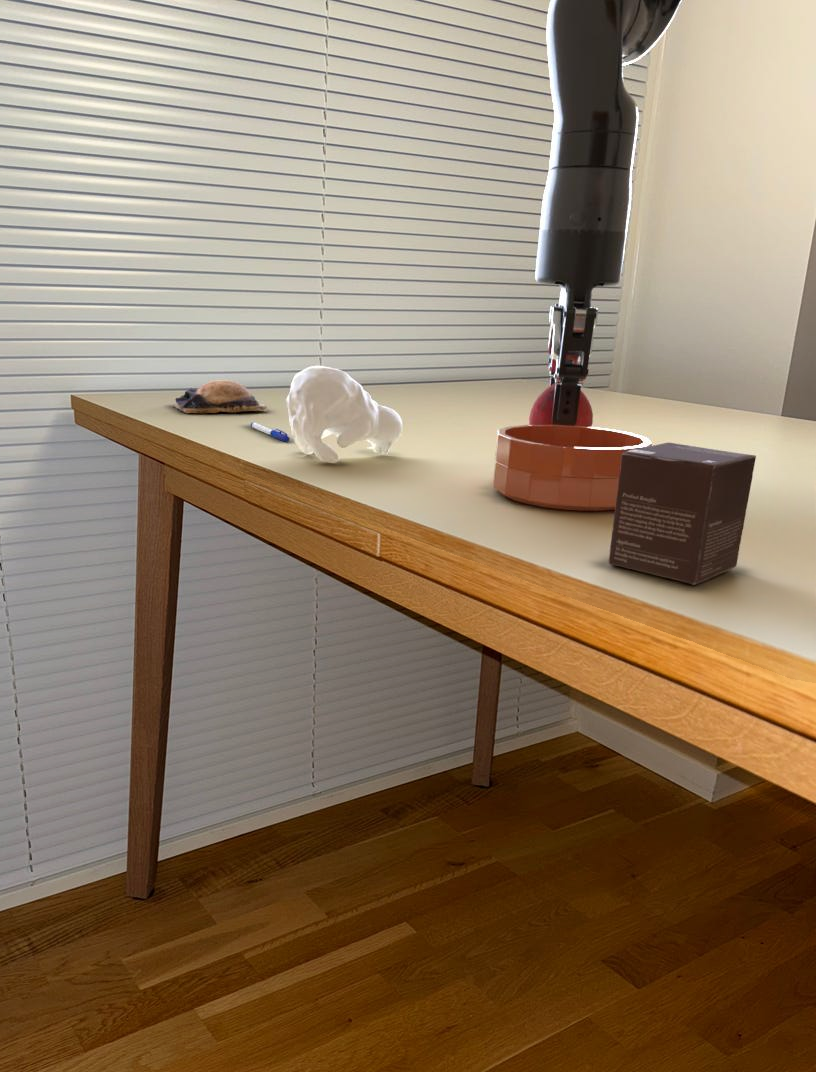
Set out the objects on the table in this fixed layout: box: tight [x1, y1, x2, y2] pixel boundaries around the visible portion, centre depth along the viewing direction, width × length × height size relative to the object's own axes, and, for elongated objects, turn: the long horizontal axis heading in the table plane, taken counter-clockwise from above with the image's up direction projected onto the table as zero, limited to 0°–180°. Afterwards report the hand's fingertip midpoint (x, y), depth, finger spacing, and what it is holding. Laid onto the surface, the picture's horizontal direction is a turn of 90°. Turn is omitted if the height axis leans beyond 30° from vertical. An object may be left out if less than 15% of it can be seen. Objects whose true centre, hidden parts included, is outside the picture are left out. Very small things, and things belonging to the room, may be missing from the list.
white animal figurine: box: [285, 365, 404, 464], centre depth 93 cm, size 6×8×12 cm
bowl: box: [492, 424, 653, 512], centre depth 80 cm, size 12×12×5 cm
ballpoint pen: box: [250, 422, 290, 443], centre depth 105 cm, size 10×1×1 cm, turn 27°
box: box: [608, 442, 757, 586], centre depth 60 cm, size 6×6×7 cm
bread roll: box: [173, 379, 268, 415], centre depth 122 cm, size 11×8×4 cm
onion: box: [528, 383, 594, 427], centre depth 91 cm, size 6×6×8 cm
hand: (560, 420), depth 91 cm, fingers closed on onion, 6 cm apart
